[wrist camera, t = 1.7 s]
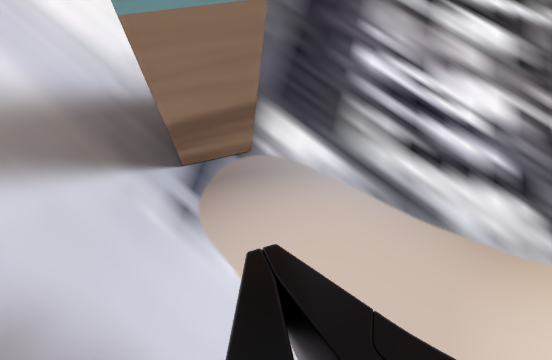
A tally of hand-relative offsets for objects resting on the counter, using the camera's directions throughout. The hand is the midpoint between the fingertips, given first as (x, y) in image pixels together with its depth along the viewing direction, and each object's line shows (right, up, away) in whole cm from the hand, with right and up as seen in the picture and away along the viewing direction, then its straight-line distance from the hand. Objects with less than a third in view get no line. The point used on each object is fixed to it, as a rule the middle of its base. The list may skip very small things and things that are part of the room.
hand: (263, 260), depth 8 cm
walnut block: (-5, +6, +15) cm, 17 cm away
